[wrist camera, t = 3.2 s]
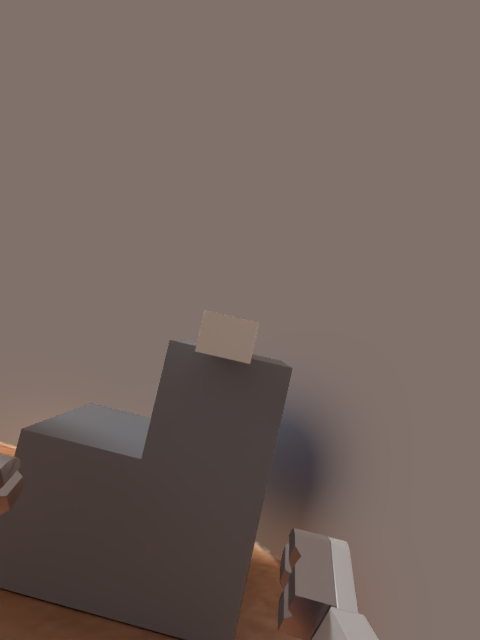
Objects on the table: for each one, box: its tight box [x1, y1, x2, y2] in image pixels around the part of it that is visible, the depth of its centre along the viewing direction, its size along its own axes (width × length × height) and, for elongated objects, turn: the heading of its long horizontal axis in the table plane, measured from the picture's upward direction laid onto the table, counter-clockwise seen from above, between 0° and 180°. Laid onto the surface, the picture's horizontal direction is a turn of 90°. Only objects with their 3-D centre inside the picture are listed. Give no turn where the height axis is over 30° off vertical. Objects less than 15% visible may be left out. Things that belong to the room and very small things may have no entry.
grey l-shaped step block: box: [0, 340, 292, 640], centre depth 39 cm, size 24×14×26 cm, turn 88°
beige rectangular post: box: [195, 310, 259, 364], centre depth 34 cm, size 4×21×3 cm, turn 178°
